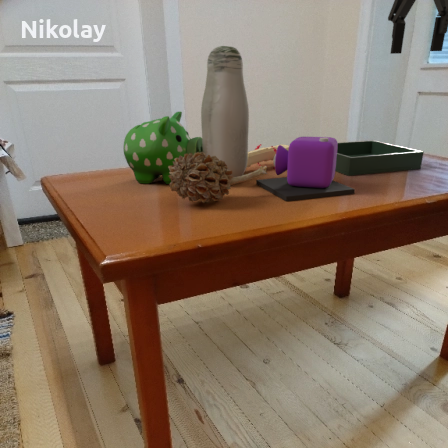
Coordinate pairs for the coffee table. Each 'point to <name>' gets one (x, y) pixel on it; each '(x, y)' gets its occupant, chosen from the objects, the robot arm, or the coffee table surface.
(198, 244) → the coffee table surface
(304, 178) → the toy camera
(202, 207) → the coffee table surface
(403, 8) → the robot arm
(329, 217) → the coffee table surface
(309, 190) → the mat
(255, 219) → the coffee table surface
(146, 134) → the piggy bank
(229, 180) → the pine cone
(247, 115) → the grey bottle
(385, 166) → the bin
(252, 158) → the beige long piece
